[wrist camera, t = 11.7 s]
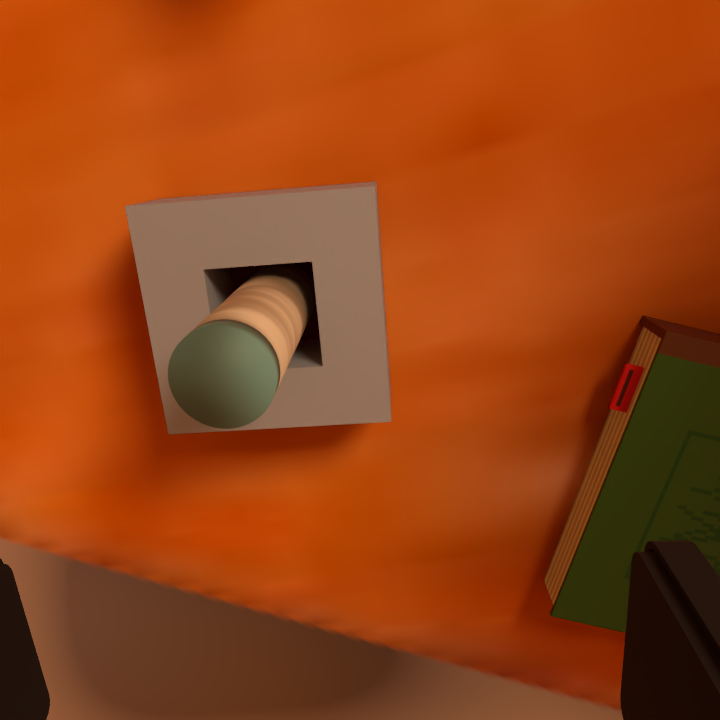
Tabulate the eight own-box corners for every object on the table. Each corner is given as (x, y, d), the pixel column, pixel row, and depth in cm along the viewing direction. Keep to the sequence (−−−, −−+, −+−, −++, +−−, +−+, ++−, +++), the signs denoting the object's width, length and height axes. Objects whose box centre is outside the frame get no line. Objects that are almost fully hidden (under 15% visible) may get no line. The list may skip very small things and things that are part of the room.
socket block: (376, 181, 34) (374, 186, 29) (390, 387, 38) (391, 421, 33) (160, 198, 35) (124, 206, 30) (195, 399, 39) (168, 434, 34)
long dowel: (312, 259, 36) (268, 322, 22) (319, 327, 37) (282, 425, 24) (242, 264, 36) (158, 329, 23) (251, 331, 37) (177, 431, 24)
